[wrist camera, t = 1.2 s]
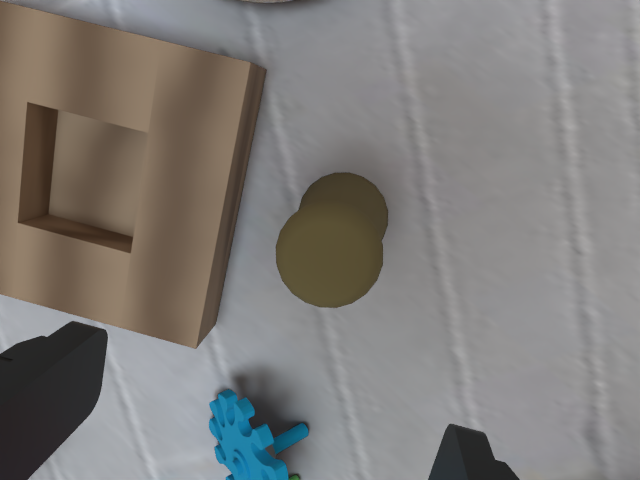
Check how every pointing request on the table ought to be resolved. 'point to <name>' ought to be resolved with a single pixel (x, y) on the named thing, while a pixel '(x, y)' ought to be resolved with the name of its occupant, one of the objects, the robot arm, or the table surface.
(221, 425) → the gear
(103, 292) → the socket block
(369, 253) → the olive knobbed peg
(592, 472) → the table surface
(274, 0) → the plant saucer
